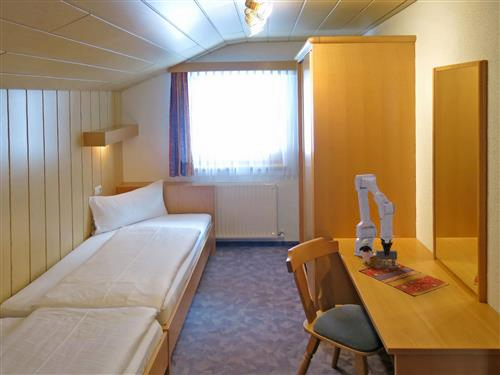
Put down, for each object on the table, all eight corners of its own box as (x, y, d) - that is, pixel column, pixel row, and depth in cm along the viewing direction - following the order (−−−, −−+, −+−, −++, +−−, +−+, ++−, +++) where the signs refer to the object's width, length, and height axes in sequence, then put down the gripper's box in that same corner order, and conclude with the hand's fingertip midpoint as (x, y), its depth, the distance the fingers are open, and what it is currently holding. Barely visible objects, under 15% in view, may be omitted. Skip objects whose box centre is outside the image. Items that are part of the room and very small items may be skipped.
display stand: (375, 267, 265) (375, 260, 264) (374, 264, 271) (374, 256, 270) (398, 268, 263) (398, 260, 262) (397, 264, 269) (397, 257, 268)
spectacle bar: (376, 259, 266) (376, 251, 265) (376, 257, 269) (376, 249, 268) (397, 259, 264) (397, 251, 263) (396, 258, 266) (396, 250, 266)
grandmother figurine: (372, 261, 275) (372, 238, 273) (373, 264, 271) (373, 239, 270) (357, 261, 276) (357, 238, 274) (358, 264, 272) (358, 240, 270)
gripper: (395, 230, 256) (395, 257, 258) (393, 223, 270) (393, 249, 272) (380, 230, 257) (380, 257, 259) (379, 223, 271) (379, 249, 273)
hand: (386, 253), depth 266 cm, fingers open, 6 cm apart
